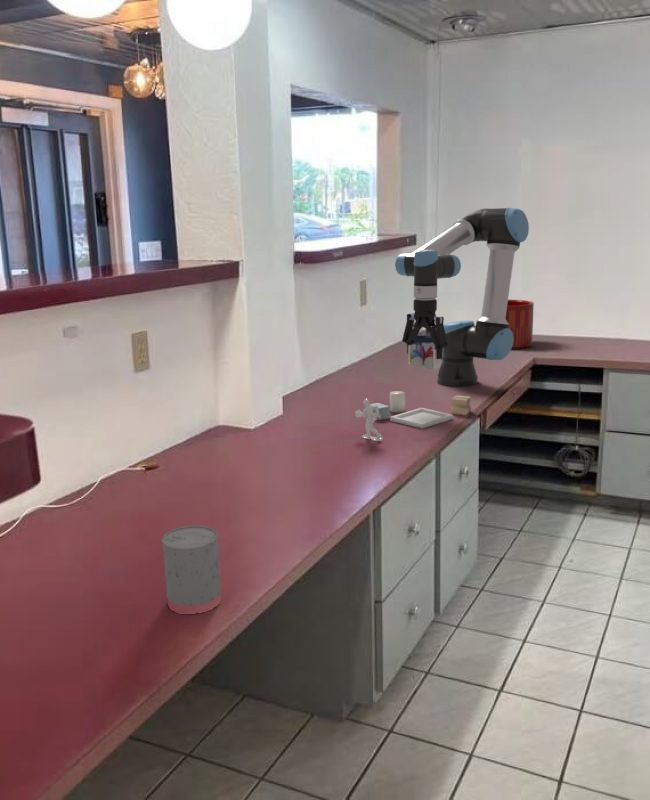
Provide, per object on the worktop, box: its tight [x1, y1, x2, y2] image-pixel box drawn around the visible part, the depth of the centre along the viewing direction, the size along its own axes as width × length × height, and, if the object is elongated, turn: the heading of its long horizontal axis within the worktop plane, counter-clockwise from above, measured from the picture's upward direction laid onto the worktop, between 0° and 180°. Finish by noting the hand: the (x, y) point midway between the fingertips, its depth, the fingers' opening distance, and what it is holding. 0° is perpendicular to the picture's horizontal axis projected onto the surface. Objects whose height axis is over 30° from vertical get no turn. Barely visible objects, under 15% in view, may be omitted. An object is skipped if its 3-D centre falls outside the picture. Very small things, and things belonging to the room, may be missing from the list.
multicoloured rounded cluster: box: [410, 345, 434, 370], centre depth 257 cm, size 8×10×7 cm
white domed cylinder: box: [389, 390, 406, 414], centre depth 259 cm, size 5×5×6 cm
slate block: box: [369, 402, 390, 421], centre depth 253 cm, size 4×6×4 cm, turn 33°
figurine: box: [354, 398, 384, 442], centre depth 229 cm, size 5×9×12 cm, turn 58°
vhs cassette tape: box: [414, 334, 435, 355], centre depth 345 cm, size 18×3×10 cm, turn 83°
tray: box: [389, 407, 454, 430], centre depth 248 cm, size 15×13×1 cm
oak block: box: [450, 395, 472, 416], centre depth 255 cm, size 5×5×5 cm
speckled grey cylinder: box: [161, 525, 222, 606], centre depth 137 cm, size 10×10×12 cm
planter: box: [505, 299, 535, 350], centre depth 367 cm, size 23×23×20 cm
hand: (424, 366), depth 258 cm, fingers closed on multicoloured rounded cluster, 10 cm apart
